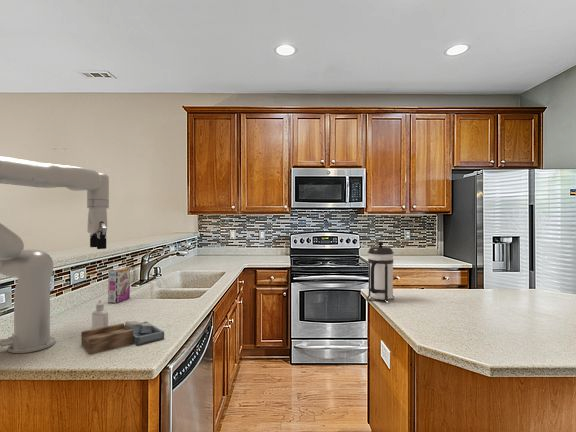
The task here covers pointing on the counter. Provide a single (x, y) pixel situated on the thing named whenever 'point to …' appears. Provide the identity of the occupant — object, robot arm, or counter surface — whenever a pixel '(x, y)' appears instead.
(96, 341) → the slot block
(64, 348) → the counter surface
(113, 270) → the candy bar box
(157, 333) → the tray
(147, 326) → the chip
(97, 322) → the eye dropper bottle
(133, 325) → the chip
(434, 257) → the counter surface
